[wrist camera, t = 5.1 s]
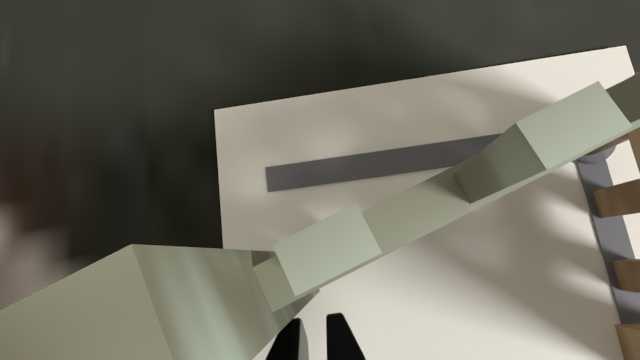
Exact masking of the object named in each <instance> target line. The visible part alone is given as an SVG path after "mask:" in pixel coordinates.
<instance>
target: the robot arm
mask: <svg viewBox="0 0 640 360" xmlns="http://www.w3.org/2000/svg"><path fill="white" fill-rule="evenodd" d="M326 341H327V360H366V358H365V356H364V354H363V352H362V350H361V348H360V346H359V344H358V342H357V340H356V338H355V336H354V335H353V333H352V331H351V329H350V327H349V325H348V323H347V321H346V319H345V317H344V315H343V314H342V313H332V314H328V315H327V316H326ZM265 360H309V351H308V340H307V335H306V332H305V329H304V325H303V322H302V320H301V318H292V320H291V321H290V322H289V323H288V324H287V325H286V326H285V327H284V328H283V329H282V330H281V331H280V332H279V333H278V334H277V336H276V338H275V340H274V343H273V345H272V347H271V349H270V351H269V353H268V355H267V357H266V359H265Z"/></svg>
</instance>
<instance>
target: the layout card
mask: <svg viewBox="0 0 640 360" xmlns="http://www.w3.org/2000/svg"><path fill="white" fill-rule="evenodd" d="M634 74H635V73H634V70H633V67H632V64H631V61H630V58H629V55H628V52H627V49H626V46H620V47H613V48H607V49H601V50H594V51H588V52H581V53H575V54H569V55H562V56H556V57H549V58H543V59H537V60H530V61H524V62H517V63H511V64H505V65H498V66H492V67H485V68H479V69H473V70H466V71H460V72H453V73H447V74H441V75H434V76H428V77H421V78H415V79H409V80H402V81H396V82H389V83H383V84H377V85H370V86H364V87H357V88H351V89H345V90H338V91H332V92H325V93H319V94H313V95H306V96H300V97H293V98H287V99H281V100H274V101H268V102H261V103H255V104H249V105H242V106H236V107H229V108H223V109H217V110H214V116H215V131H216V146H217V161H218V176H219V191H220V206H221V221H222V236H223V249H237V250H256V251H275V250H274V248H273V246H272V245H274V244H276V243H278V242H280V241H281V240H283V239H285V238H287V237H289V236H291V235H293V234H295V233H297V232H299V231H301V230H303V229H305V228H307V227H309V226H311V225H313V224H315V223H317V222H319V221H321V220H323V219H325V218H327V217H329V216H331V215H333V214H335V213H337V212H339V211H341V210H343V209H345V208H347V207H349V206H351V205H353V204H355V203H356V204H357V206H358V208H359V210H360V212H361V213H362V212H364V211H366V210H368V209H370V208H371V207H373V206H375V205H377V204H379V203H381V202H383V201H385V200H387V199H389V198H391V197H393V196H395V195H397V194H399V193H401V192H403V191H405V190H407V189H409V188H411V187H413V186H415V185H417V184H419V183H421V182H423V181H425V180H427V179H429V178H431V177H433V176H435V175H437V174H439V173H441V172H443V171H445V170H447V169H449V168H451V167H453V166H455V165H457V164H459V163H461V162H463V161H465V160H467V159H469V158H471V157H473V156H475V155H477V154H478V153H480V152H481V151H482V150H483V149H484V148H486V147H487V146H488V145H489V144H490V143H492V142H493V141H494V140H495V139H496V138H498V137H499V136H500V135H501V134H503V133H504V132H505V131H506V130H507V129H509V128H510V127H511V126H512V125H513V124H515V123H516V122H518V121H520V120H522V119H524V118H526V117H528V116H530V115H532V114H534V113H536V112H538V111H540V110H542V109H544V108H546V107H548V106H550V105H552V104H554V103H556V102H558V101H560V100H562V99H564V98H566V97H568V96H569V95H571V94H573V93H575V92H577V91H579V90H581V89H583V88H585V87H587V86H589V85H591V84H593V83H595V82H597V81H599V82H600V84H601V85H602V86H603V88H604V89H605V90H606V89H608V88H610V87H612V86H614V85H616V84H618V83H620V82H622V81H624V80H626V79H628V78H630V77H631V76H633V75H634ZM639 178H640V173H639V170H638V167H637V164H636V160H635V157H634V154H633V151H632V148H631V144H630V141H629V140H627V141H625V142H623V143H620V144H618V145H615V146H613V147H611V148H608V149H606V150H604V151H601V152H599V153H596V154H593V155H583V156H581V157H579V158H577V159H575V160H573V161H571V162H569V163H567V164H565V165H563V166H561V167H559V168H557V169H555V170H553V171H551V172H549V173H547V174H545V175H543V176H541V177H539V178H537V179H535V180H534V181H532V182H530V183H528V184H526V185H524V186H522V187H520V188H518V189H516V190H514V191H512V192H510V193H508V194H506V195H504V196H502V197H500V198H498V199H496V200H494V201H492V202H490V203H488V204H486V205H484V206H482V207H480V208H478V209H476V210H474V211H472V212H470V213H468V214H466V215H464V216H462V217H460V218H458V219H456V220H454V221H452V222H450V223H448V224H446V225H444V226H442V227H440V228H438V229H436V230H434V231H432V232H431V233H429V234H427V235H425V236H423V237H421V238H419V239H417V240H415V241H413V242H411V243H409V244H407V245H405V246H403V247H401V248H399V249H397V250H395V251H393V252H391V253H389V254H387V255H385V256H383V257H381V258H379V259H377V260H375V261H373V262H371V263H369V264H367V265H365V266H363V267H361V268H359V269H357V270H355V271H353V272H351V273H349V274H347V275H345V276H343V277H341V278H339V279H337V280H335V281H333V282H331V283H329V284H328V285H326V286H324V287H322V288H320V292H319V293H318V294H317V295H316V296H315V297H314V298H313V299H312V300H311V301H310V302H309V303H308V304H307V305H306V306H305V307H304V308H303V309H302V310H301V311H300V312H299V313H298V314H297V315H296V316H295V317H294V318H301V320H302V322H303V325H304V329H305V332H306V335H307V340H308V351H309V360H327V341H326V316H327V315H328V314H332V313H342V314H343V315H344V317H345V319H346V321H347V323H348V325H349V327H350V329H351V331H352V333H353V335H354V336H355V338H356V340H357V342H358V344H359V346H360V348H361V350H362V352H363V354H364V356H365V358H366V360H624V357H623V354H622V350H621V347H620V343H619V339H618V336H617V332H616V328H615V325H616V324H631V323H640V293H636V292H628V291H621V289H620V286H619V282H618V279H617V275H616V272H615V268H614V265H613V261H616V260H625V259H640V213H636V214H629V215H622V216H616V217H608V218H600V216H599V212H598V209H597V205H596V201H595V198H594V194H593V191H595V190H599V189H602V188H606V187H610V186H614V185H617V184H621V183H625V182H628V181H632V180H636V179H639ZM276 336H277V335H276ZM276 336H275V337H274V338H273V339H272V340H271V341H270V342H269V343H268V344H267V345H266V346H265V347H264V348H263V349H262V350H261V351H260V352H259V353H258V354H257V355H256V356H255V357H254V358H253V359H252V360H265V359H266V357H267V355H268V353H269V351H270V349H271V347H272V345H273V343H274V340H275V338H276Z"/></svg>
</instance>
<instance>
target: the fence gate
mask: <svg viewBox="0 0 640 360" xmlns="http://www.w3.org/2000/svg"><path fill="white" fill-rule="evenodd" d="M638 127H640V72H639V73H638V74H636V75H634V76H632V77H630V78H628V79H626V80H624V81H622V82H620V83H618V84H616V85H614V86H612V87H610V88H608V89H606V90H605V89H604V88H603V86H602V85H601V84H600V82H599V81H597V82H595V83H593V84H591V85H589V86H587V87H585V88H583V89H581V90H579V91H577V92H575V93H573V94H571V95H569V96H568V97H566V98H564V99H562V100H560V101H558V102H556V103H554V104H552V105H550V106H548V107H546V108H544V109H542V110H540V111H538V112H536V113H534V114H532V115H530V116H528V117H526V118H524V119H522V120H520V121H518V122H516V123H515V124H513V125H512V126H511V127H510V128H509V129H507V130H506V131H505V132H504V133H503V134H501V135H500V136H499V137H498V138H496V139H495V140H494V141H493V142H492V143H490V144H489V145H488V146H487V147H486V148H484V149H483V150H482V151H481V152H480V153H478V154H477V155H475V156H473V157H471V158H469V159H467V160H465V161H463V162H461V163H459V164H457V165H455V166H453V167H451V168H449V169H447V170H445V171H443V172H441V173H439V174H437V175H435V176H433V177H431V178H429V179H427V180H425V181H423V182H421V183H419V184H417V185H415V186H413V187H411V188H409V189H407V190H405V191H403V192H401V193H399V194H397V195H395V196H393V197H391V198H389V199H387V200H385V201H383V202H381V203H379V204H377V205H375V206H373V207H371V208H370V209H368V210H366V211H364V212H362V213H361V212H360V210H359V208H358V206H357V204H356V203H355V204H353V205H351V206H349V207H347V208H345V209H343V210H341V211H339V212H337V213H335V214H333V215H331V216H329V217H327V218H325V219H323V220H321V221H319V222H317V223H315V224H313V225H311V226H309V227H307V228H305V229H303V230H301V231H299V232H297V233H295V234H293V235H291V236H289V237H287V238H285V239H283V240H281V241H280V242H278V243H276V244H274V245H272V246H273V248H274V250H275V251H256V250H237V249H217V248H197V247H177V246H158V245H138V244H131V245H129V246H127V247H125V248H123V249H121V250H119V251H117V252H115V253H113V254H111V255H109V256H107V257H105V258H103V259H101V260H99V261H97V262H95V263H93V264H91V265H89V266H87V267H85V268H83V269H81V270H79V271H77V272H75V273H73V274H71V275H69V276H67V277H65V278H63V279H61V280H59V281H57V282H55V283H53V284H51V285H49V286H47V287H45V288H43V289H41V290H39V291H37V292H35V293H33V294H31V295H29V296H27V297H25V298H23V299H21V300H19V301H17V302H15V303H13V304H11V305H9V306H7V307H5V308H3V309H1V310H0V360H252V359H253V358H254V357H255V356H256V355H257V354H258V353H259V352H260V351H261V350H262V349H263V348H264V347H265V346H266V345H267V344H268V343H269V342H270V341H271V340H272V339H273V338H274V337H275V336H276V335H277V334H278V333H279V332H280V331H281V330H282V329H283V328H284V327H285V326H286V325H287V324H288V323H289V322H290V321H291V320H292V318H294V317H295V316H296V315H297V314H298V313H299V312H300V311H301V310H302V309H303V308H304V307H305V306H306V305H307V304H308V303H309V302H310V301H311V300H312V299H313V298H314V297H315V296H316V295H317V294H318V293H319V292H320V288H322V287H324V286H326V285H328V284H329V283H331V282H333V281H335V280H337V279H339V278H341V277H343V276H345V275H347V274H349V273H351V272H353V271H355V270H357V269H359V268H361V267H363V266H365V265H367V264H369V263H371V262H373V261H375V260H377V259H379V258H381V257H383V256H385V255H387V254H389V253H391V252H393V251H395V250H397V249H399V248H401V247H403V246H405V245H407V244H409V243H411V242H413V241H415V240H417V239H419V238H421V237H423V236H425V235H427V234H429V233H431V232H432V231H434V230H436V229H438V228H440V227H442V226H444V225H446V224H448V223H450V222H452V221H454V220H456V219H458V218H460V217H462V216H464V215H466V214H468V213H470V212H472V211H474V210H476V209H478V208H480V207H482V206H484V205H486V204H488V203H490V202H492V201H494V200H496V199H498V198H500V197H502V196H504V195H506V194H508V193H510V192H512V191H514V190H516V189H518V188H520V187H522V186H524V185H526V184H528V183H530V182H532V181H534V180H535V179H537V178H539V177H541V176H543V175H545V174H547V173H549V172H551V171H553V170H555V169H557V168H559V167H561V166H563V165H565V164H567V163H569V162H571V161H573V160H575V159H577V158H579V157H581V156H583V155H585V154H587V153H589V152H591V151H593V150H595V149H597V148H599V147H601V146H603V145H605V144H607V143H609V142H611V141H613V140H615V139H617V138H619V137H621V136H623V135H625V134H627V133H629V132H631V131H633V130H635V129H636V128H638Z"/></svg>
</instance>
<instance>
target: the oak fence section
mask: <svg viewBox="0 0 640 360" xmlns="http://www.w3.org/2000/svg"><path fill="white" fill-rule="evenodd" d="M639 72H640V71H639ZM639 72H638V73H639ZM638 73H636V74H638ZM636 74H634V75H636ZM634 75H633V76H634ZM631 77H632V76H631ZM627 140H629V141H630V144H631V148H632V151H633V154H634V157H635V160H636V164H637V167H638V170H639V173H640V127H638V128H636V129H635V130H633V131H631V132H629V133H627V134H625V135H623V136H621V137H619V138H617V139H615V140H613V141H611V142H609V143H607V144H605V145H603V146H601V147H599V148H597V149H595V150H593V151H591V152H589V153H587V154H585V155H593V154H596V153H599V152H601V151H604V150H606V149H608V148H611V147H613V146H615V145H618V144H620V143H623V142H625V141H627ZM593 194H594V198H595V201H596V205H597V209H598V212H599V216H600V218H608V217H616V216H622V215H629V214H636V213H640V178H639V179H636V180H632V181H628V182H625V183H621V184H617V185H614V186H610V187H606V188H602V189H599V190H595V191H593ZM613 265H614V268H615V272H616V275H617V279H618V282H619V286H620V289H621V291H628V292H636V293H640V259H625V260H616V261H613ZM615 328H616V332H617V336H618V339H619V343H620V347H621V350H622V354H623V357H624V360H640V323H631V324H616V325H615Z"/></svg>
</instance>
